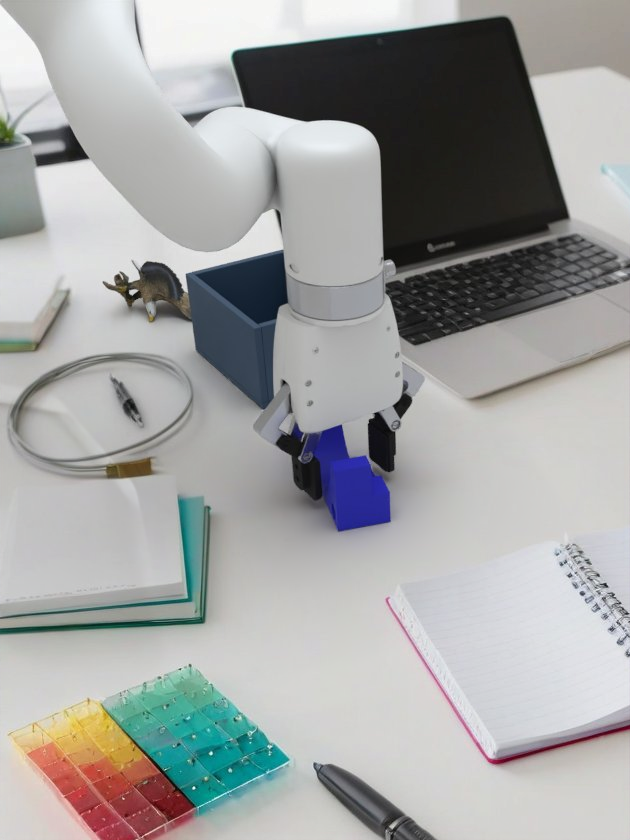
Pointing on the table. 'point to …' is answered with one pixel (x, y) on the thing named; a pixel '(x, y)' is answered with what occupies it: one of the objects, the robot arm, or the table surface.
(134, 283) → the eagle figurine
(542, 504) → the table surface
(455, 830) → the table surface
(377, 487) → the cable clip
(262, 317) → the basket
